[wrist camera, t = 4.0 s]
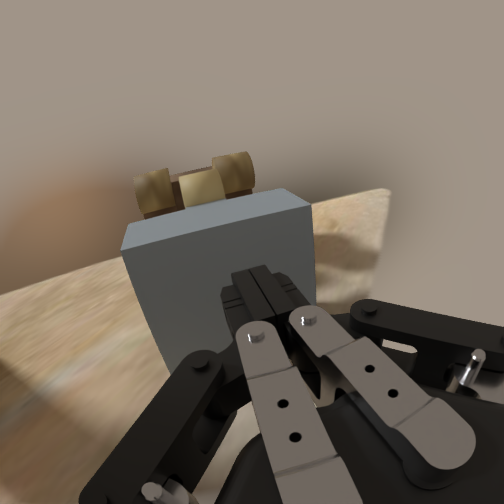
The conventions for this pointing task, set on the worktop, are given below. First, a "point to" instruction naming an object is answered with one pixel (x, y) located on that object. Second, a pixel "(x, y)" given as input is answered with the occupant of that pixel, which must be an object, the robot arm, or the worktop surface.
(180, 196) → the fixed leaf
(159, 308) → the grey block
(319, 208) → the worktop surface
